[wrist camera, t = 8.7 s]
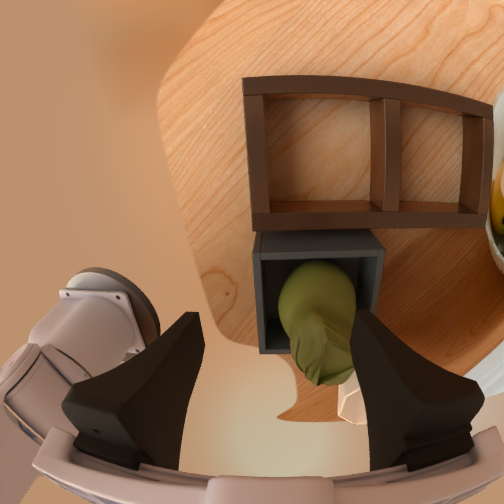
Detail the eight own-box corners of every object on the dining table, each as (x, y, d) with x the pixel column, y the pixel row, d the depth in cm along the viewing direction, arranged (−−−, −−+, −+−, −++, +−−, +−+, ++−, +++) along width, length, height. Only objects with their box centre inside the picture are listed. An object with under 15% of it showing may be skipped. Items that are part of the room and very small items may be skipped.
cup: (389, 298, 23) (421, 360, 16) (399, 365, 27) (419, 422, 20) (317, 324, 25) (327, 393, 18) (340, 385, 29) (350, 445, 21)
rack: (466, 216, 20) (485, 228, 17) (255, 217, 21) (252, 231, 19) (471, 105, 16) (493, 105, 13) (246, 85, 17) (241, 77, 15)
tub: (262, 318, 25) (259, 354, 21) (256, 228, 22) (252, 253, 18) (355, 315, 24) (367, 349, 20) (366, 225, 21) (386, 249, 17)
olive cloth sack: (266, 286, 23) (259, 382, 14) (306, 235, 21) (326, 318, 12) (319, 317, 24) (335, 412, 15) (360, 272, 22) (401, 360, 13)
